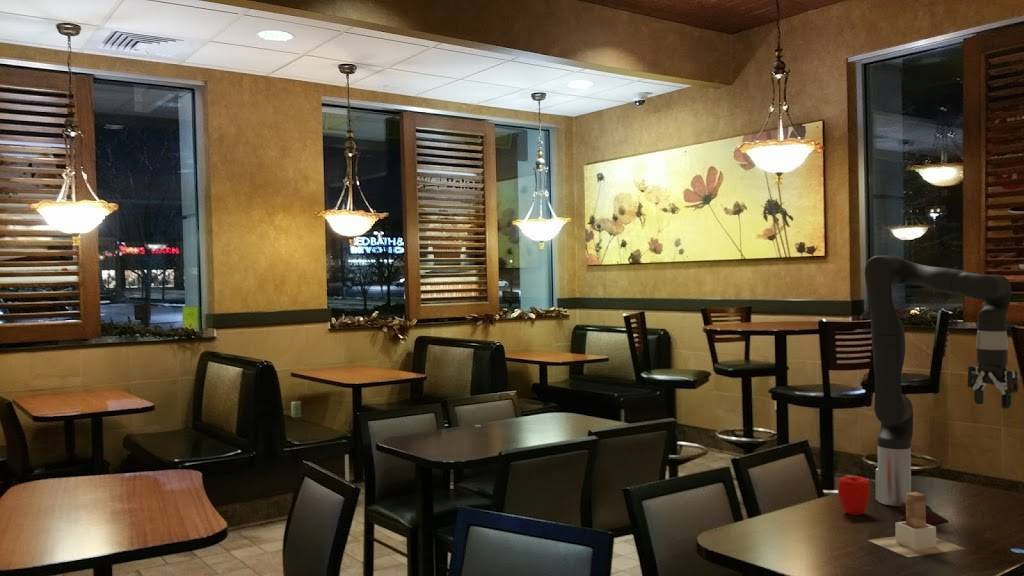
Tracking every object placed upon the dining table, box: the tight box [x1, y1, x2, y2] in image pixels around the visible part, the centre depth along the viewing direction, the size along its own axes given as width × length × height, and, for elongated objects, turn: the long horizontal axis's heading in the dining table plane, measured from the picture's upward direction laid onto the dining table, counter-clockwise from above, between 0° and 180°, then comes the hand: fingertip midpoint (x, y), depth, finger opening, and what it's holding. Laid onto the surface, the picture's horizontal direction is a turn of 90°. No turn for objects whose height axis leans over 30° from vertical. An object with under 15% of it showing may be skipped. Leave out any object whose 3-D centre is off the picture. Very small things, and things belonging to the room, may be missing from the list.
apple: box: [837, 475, 871, 516], centre depth 246 cm, size 9×9×11 cm
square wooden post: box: [905, 491, 927, 529], centre depth 215 cm, size 3×3×12 cm
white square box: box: [894, 521, 937, 550], centre depth 215 cm, size 7×7×5 cm
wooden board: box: [867, 536, 966, 558], centre depth 215 cm, size 14×18×1 cm
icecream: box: [898, 503, 949, 527], centre depth 231 cm, size 7×7×15 cm
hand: (992, 406), depth 232 cm, fingers open, 8 cm apart
